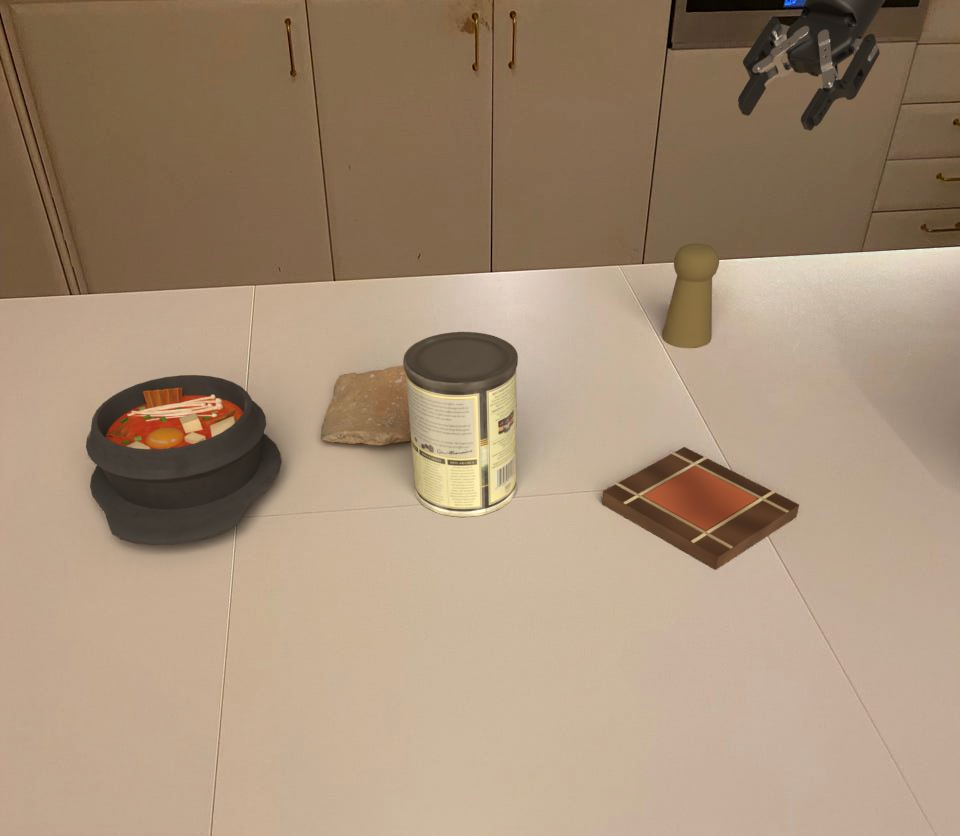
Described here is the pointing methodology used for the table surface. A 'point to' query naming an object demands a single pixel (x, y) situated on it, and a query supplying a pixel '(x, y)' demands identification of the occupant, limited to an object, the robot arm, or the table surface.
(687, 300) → the pawn
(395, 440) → the stone
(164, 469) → the casserole
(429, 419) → the coffee can
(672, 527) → the grid board
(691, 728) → the table surface
